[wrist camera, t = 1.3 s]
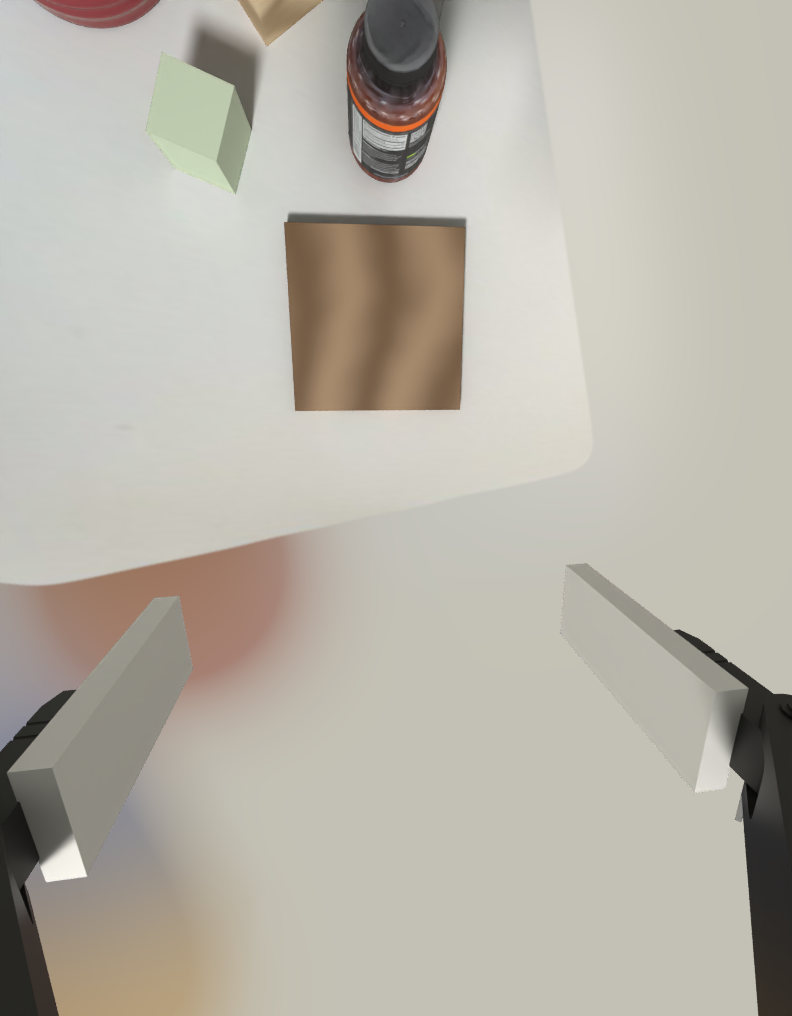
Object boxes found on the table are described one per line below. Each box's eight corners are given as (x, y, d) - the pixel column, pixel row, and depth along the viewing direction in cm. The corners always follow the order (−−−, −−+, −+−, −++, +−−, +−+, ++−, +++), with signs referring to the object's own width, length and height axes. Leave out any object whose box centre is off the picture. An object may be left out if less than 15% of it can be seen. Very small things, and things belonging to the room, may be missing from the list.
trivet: (296, 410, 38) (295, 410, 37) (286, 226, 35) (284, 222, 34) (457, 409, 39) (460, 409, 38) (462, 231, 36) (465, 227, 35)
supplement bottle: (370, 77, 33) (378, -81, 22) (440, 125, 34) (480, -3, 23) (334, 158, 34) (325, 46, 23) (403, 202, 35) (425, 115, 24)
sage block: (175, 169, 33) (145, 131, 28) (190, 103, 32) (161, 52, 28) (235, 195, 34) (216, 161, 29) (251, 130, 33) (234, 85, 28)
